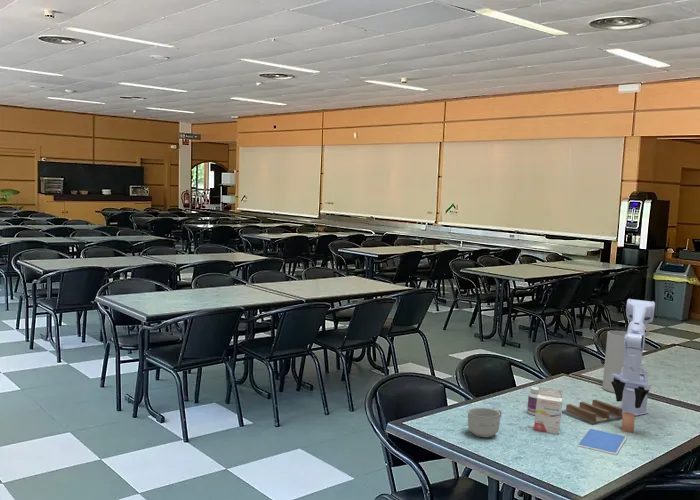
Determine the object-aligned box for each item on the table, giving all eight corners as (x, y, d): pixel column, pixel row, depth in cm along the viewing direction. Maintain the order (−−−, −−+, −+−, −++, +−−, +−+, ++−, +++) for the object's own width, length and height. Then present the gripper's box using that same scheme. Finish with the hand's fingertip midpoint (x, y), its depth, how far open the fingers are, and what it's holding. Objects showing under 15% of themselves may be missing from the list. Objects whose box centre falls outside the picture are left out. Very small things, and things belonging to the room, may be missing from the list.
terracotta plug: (626, 427, 241) (627, 411, 241) (635, 431, 238) (637, 415, 237) (618, 429, 239) (620, 413, 238) (628, 433, 236) (630, 416, 235)
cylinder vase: (599, 385, 297) (604, 329, 295) (628, 387, 295) (634, 332, 293) (606, 393, 285) (611, 335, 283) (636, 396, 283) (642, 337, 281)
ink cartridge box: (533, 430, 233) (537, 389, 231) (534, 426, 237) (537, 385, 236) (559, 434, 230) (562, 392, 229) (559, 430, 235) (563, 389, 233)
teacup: (479, 442, 219) (481, 418, 218) (459, 430, 228) (461, 407, 227) (512, 437, 225) (514, 413, 224) (491, 426, 235) (493, 403, 234)
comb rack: (594, 407, 264) (595, 398, 264) (625, 418, 252) (626, 409, 252) (561, 413, 254) (562, 404, 254) (592, 425, 242) (593, 415, 242)
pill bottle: (542, 416, 248) (544, 391, 248) (527, 414, 250) (529, 389, 249) (541, 412, 254) (543, 387, 253) (526, 410, 255) (528, 385, 254)
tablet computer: (616, 457, 214) (616, 453, 213) (576, 447, 220) (576, 443, 220) (626, 440, 230) (627, 436, 230) (588, 431, 236) (589, 427, 236)
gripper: (607, 362, 241) (603, 399, 242) (643, 373, 228) (639, 411, 230) (619, 361, 244) (616, 397, 246) (655, 371, 232) (652, 409, 233)
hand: (628, 404), depth 238 cm, fingers open, 7 cm apart
